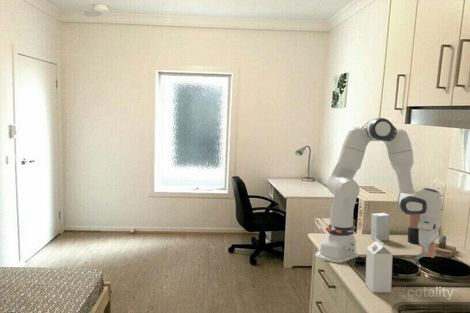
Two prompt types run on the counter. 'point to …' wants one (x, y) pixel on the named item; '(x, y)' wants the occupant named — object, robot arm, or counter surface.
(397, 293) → the counter surface
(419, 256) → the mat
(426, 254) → the cap
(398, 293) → the counter surface
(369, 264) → the milk carton
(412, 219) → the travel mug
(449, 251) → the post stand
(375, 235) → the skincare box
